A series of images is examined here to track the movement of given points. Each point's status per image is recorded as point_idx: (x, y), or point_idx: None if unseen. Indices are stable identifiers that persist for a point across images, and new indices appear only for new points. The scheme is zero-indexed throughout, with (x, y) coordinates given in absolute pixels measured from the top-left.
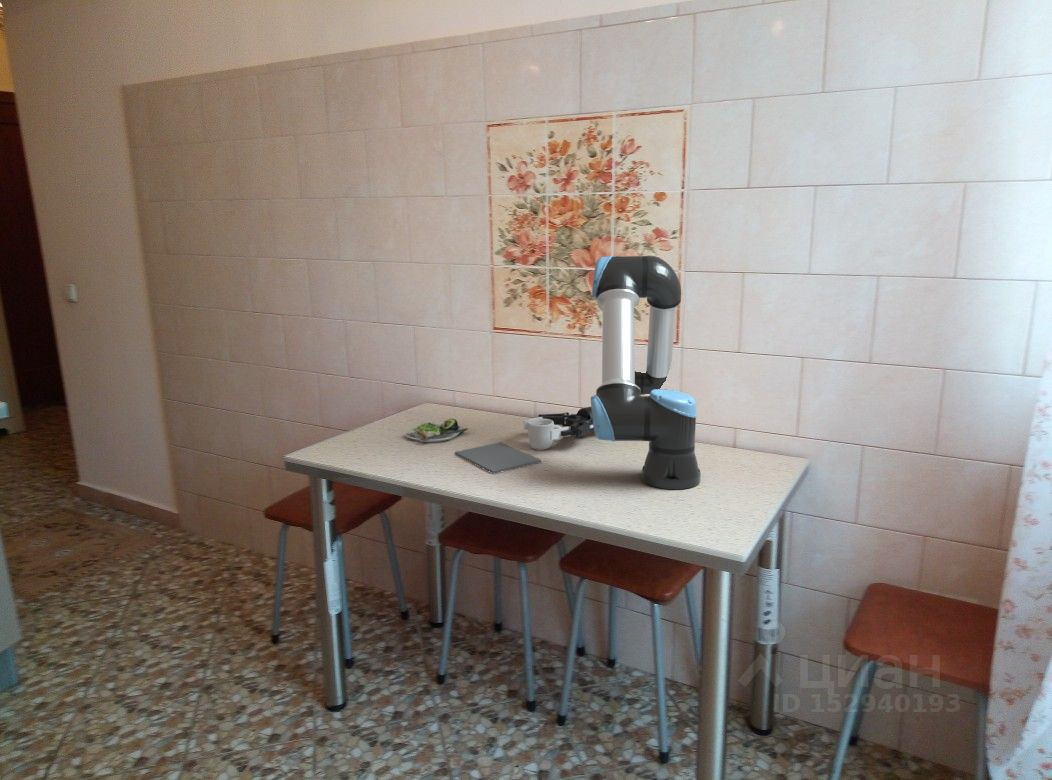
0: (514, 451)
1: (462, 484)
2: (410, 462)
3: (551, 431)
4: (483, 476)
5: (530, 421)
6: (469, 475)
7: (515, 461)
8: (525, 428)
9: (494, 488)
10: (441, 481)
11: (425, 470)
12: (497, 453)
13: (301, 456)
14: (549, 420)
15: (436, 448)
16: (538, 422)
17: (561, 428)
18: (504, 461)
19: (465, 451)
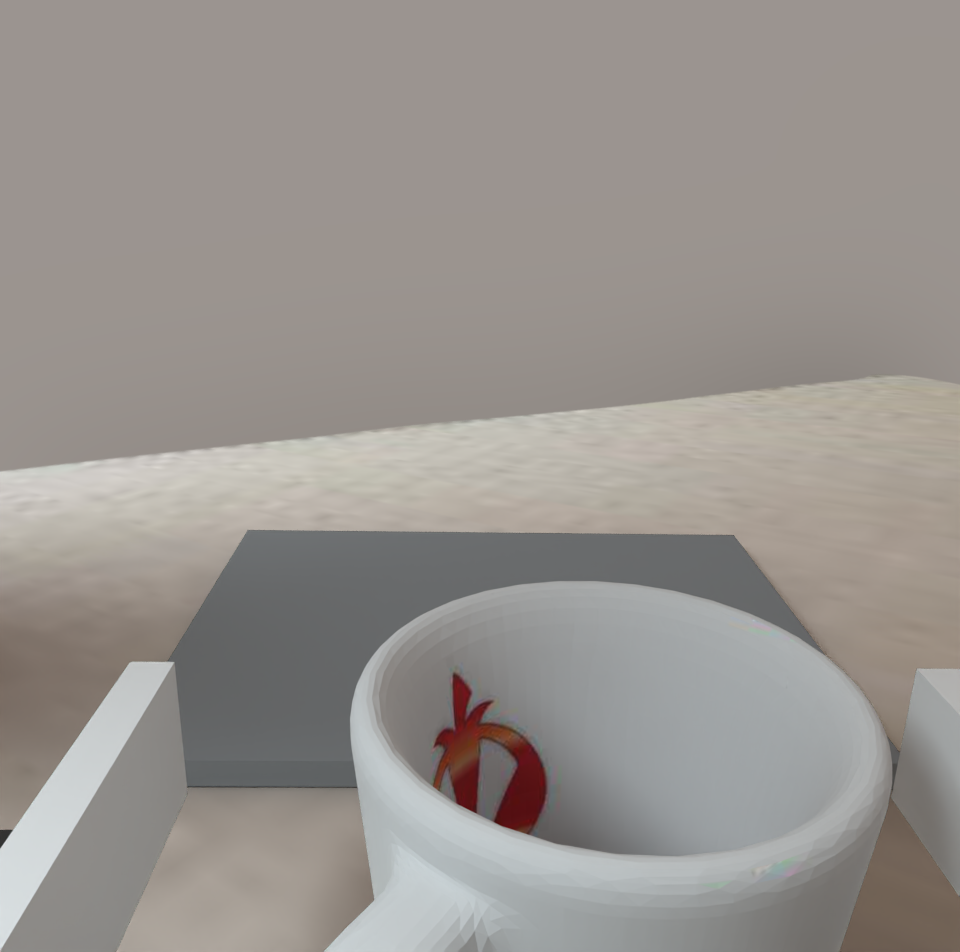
0: None
1: (258, 472)
2: (689, 460)
3: (136, 671)
4: (264, 522)
5: (775, 656)
6: (335, 504)
7: (276, 635)
8: (897, 790)
9: (81, 503)
10: (361, 455)
11: (540, 460)
12: None
13: (911, 380)
14: (667, 857)
15: (908, 540)
16: (817, 799)
17: (52, 810)
18: (343, 603)
19: (715, 559)
